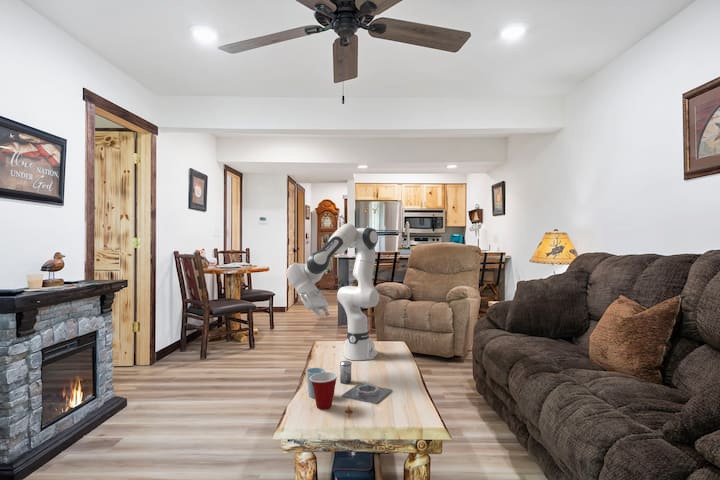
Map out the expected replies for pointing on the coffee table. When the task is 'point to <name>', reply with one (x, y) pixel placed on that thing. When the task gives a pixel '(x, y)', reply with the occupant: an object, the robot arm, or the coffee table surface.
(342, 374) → the metal cylinder
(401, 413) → the coffee table surface
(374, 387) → the flange
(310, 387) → the cup
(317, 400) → the plastic cup
